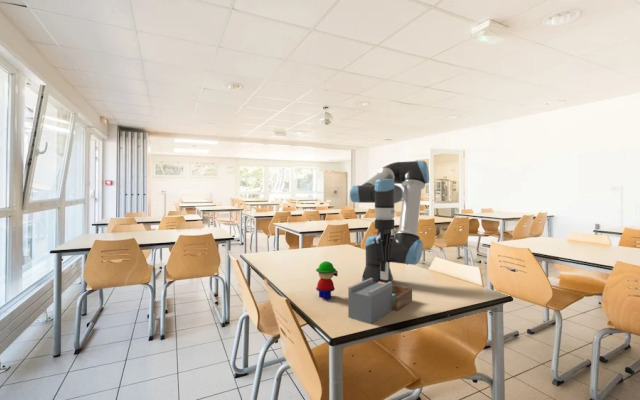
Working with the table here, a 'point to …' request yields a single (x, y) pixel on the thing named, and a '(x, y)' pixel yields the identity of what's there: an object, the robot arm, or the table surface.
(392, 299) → the teal square block
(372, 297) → the grey stepped block
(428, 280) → the table surface
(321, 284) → the toy
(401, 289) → the crate
